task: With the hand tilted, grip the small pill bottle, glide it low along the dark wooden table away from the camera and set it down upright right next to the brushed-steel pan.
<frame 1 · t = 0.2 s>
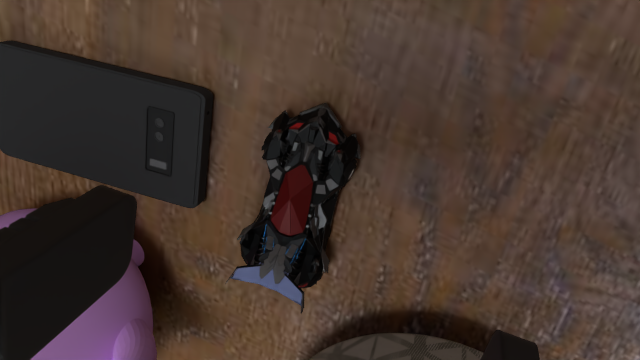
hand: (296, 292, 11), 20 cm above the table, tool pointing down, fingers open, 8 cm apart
phone: (107, 120, 35), on the table
toy car: (304, 191, 33), on the table
teapot: (105, 277, 40), on the table
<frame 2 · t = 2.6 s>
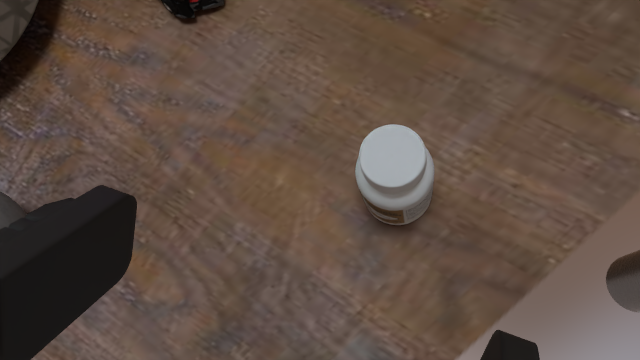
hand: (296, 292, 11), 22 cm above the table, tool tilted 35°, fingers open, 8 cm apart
decorative ball: (8, 267, 38), on the table
pill bottle: (397, 193, 35), on the table
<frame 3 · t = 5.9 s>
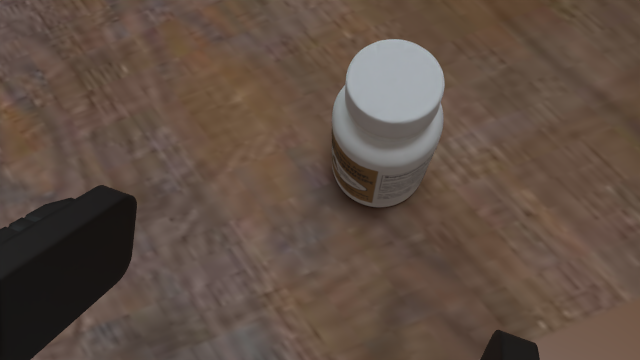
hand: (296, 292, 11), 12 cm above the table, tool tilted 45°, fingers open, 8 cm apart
pill bottle: (377, 168, 26), on the table
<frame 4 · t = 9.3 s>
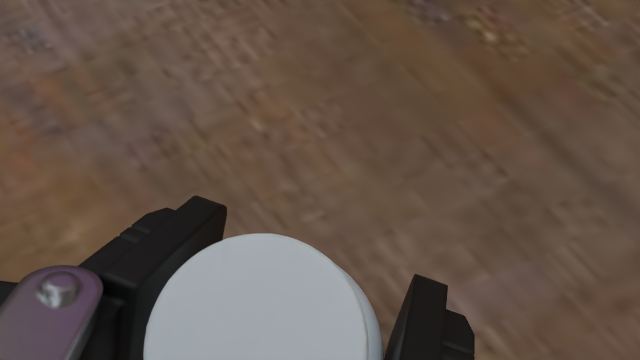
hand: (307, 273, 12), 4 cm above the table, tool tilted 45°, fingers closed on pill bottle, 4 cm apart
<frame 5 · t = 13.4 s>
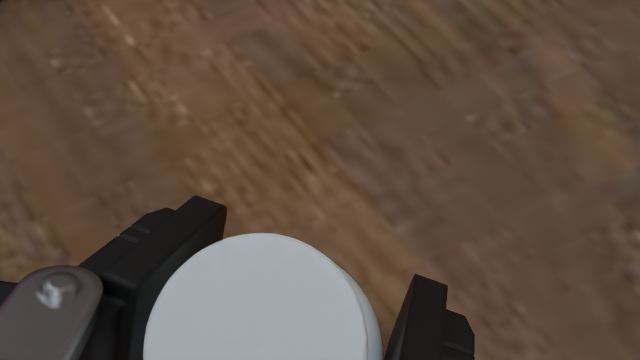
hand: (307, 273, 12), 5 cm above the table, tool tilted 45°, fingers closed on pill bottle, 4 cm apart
when the fingers open (4 cm above the table, at t = 18.0 s): pill bottle stays where it is, on the table.
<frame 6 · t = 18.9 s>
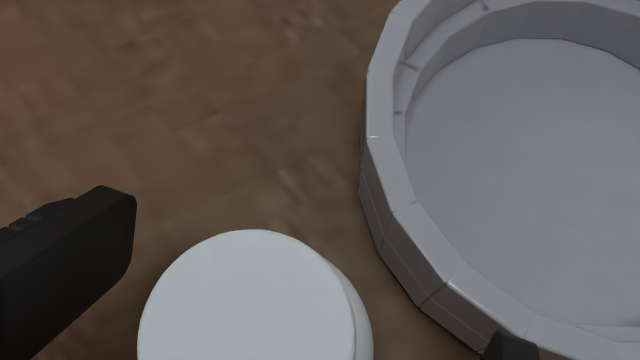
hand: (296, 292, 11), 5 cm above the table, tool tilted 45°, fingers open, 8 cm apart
pan: (548, 177, 17), on the table
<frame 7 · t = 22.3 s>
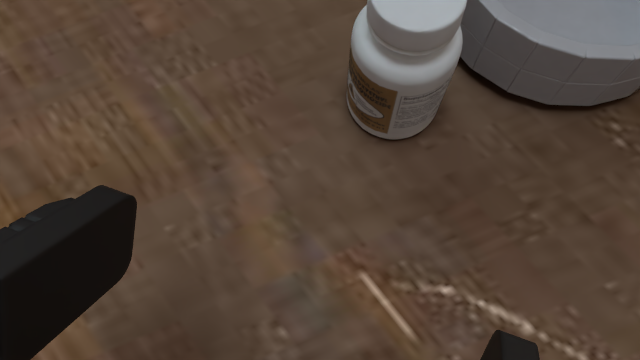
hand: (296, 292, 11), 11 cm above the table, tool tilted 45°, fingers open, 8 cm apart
pill bottle: (390, 103, 26), on the table
pan: (549, 6, 28), on the table
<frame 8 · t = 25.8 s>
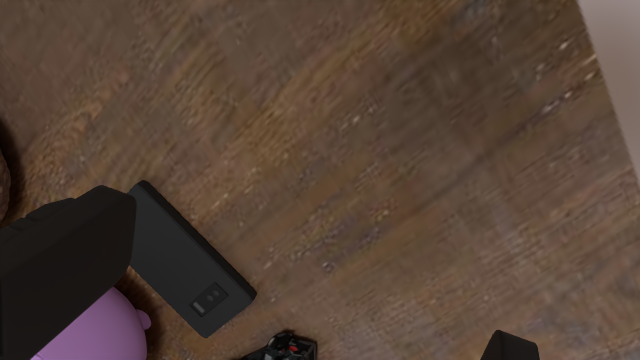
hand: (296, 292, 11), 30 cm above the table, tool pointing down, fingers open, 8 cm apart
phone: (179, 257, 51), on the table
teapot: (111, 318, 56), on the table
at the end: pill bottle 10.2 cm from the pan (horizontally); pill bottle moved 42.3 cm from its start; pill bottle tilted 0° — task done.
